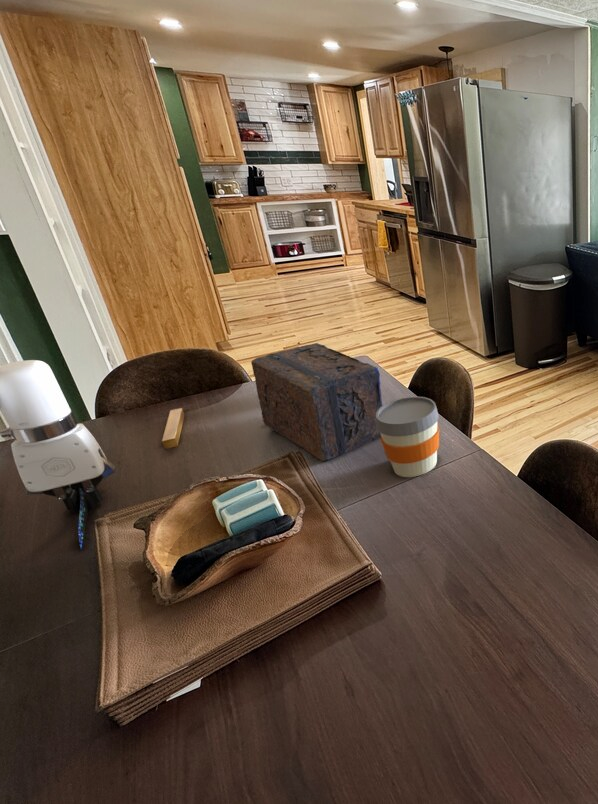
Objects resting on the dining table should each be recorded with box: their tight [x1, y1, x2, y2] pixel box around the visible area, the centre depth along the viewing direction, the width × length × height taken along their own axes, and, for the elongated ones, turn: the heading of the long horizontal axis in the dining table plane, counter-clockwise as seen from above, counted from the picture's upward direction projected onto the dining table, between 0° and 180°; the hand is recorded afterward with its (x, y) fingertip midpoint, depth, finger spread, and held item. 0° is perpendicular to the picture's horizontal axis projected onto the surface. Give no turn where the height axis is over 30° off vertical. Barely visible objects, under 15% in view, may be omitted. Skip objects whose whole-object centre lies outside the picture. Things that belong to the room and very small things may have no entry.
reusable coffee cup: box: [376, 396, 440, 478], centre depth 104 cm, size 13×13×15 cm
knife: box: [69, 482, 89, 549], centre depth 92 cm, size 31×3×4 cm, turn 39°
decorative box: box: [250, 342, 383, 462], centre depth 117 cm, size 31×20×20 cm
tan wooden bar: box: [161, 407, 185, 450], centre depth 119 cm, size 2×18×2 cm, turn 35°
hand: (87, 507), depth 93 cm, fingers closed on knife
